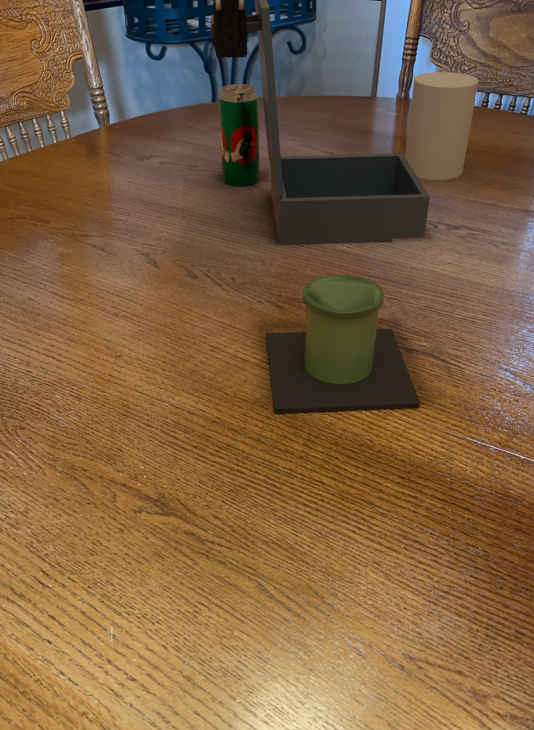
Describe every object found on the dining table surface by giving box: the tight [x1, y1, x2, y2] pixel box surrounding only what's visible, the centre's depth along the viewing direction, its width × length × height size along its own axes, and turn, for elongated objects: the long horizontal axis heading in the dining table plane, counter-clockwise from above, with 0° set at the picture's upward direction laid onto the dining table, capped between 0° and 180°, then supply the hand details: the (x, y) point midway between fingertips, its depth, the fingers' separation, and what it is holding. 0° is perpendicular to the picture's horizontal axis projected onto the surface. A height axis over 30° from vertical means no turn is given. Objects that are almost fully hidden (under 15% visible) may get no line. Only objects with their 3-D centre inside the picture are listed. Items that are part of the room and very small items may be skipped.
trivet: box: [265, 328, 421, 415], centre depth 62 cm, size 12×12×1 cm
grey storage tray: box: [270, 153, 431, 246], centre depth 84 cm, size 17×15×6 cm
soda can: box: [218, 83, 261, 188], centre depth 92 cm, size 5×5×12 cm
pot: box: [302, 274, 385, 384], centre depth 59 cm, size 7×7×7 cm
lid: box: [209, 0, 284, 197], centre depth 76 cm, size 17×15×6 cm
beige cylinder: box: [404, 71, 479, 181], centre depth 94 cm, size 8×8×12 cm
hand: (230, 48), depth 73 cm, fingers closed on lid, 5 cm apart
